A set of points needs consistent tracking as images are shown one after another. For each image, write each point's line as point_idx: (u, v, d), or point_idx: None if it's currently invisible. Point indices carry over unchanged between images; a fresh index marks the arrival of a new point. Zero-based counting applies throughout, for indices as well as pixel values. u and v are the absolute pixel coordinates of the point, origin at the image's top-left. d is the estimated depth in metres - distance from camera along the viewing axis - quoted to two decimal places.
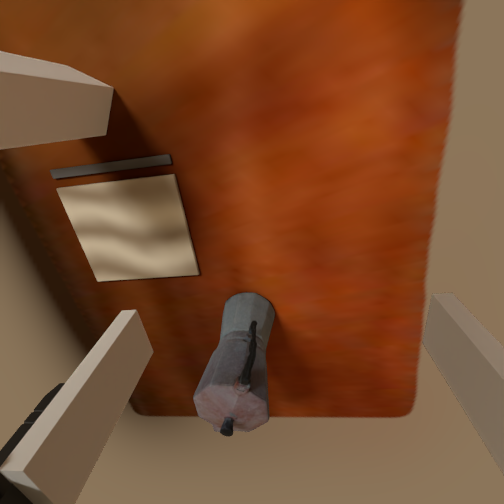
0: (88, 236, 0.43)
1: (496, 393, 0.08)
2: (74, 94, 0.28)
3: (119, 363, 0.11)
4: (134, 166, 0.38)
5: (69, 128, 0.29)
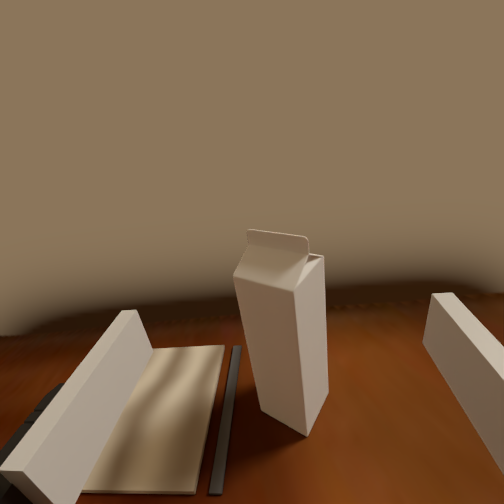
0: (171, 357, 0.41)
1: (496, 393, 0.08)
2: (292, 388, 0.26)
3: (119, 363, 0.11)
4: (220, 433, 0.30)
5: (261, 372, 0.28)
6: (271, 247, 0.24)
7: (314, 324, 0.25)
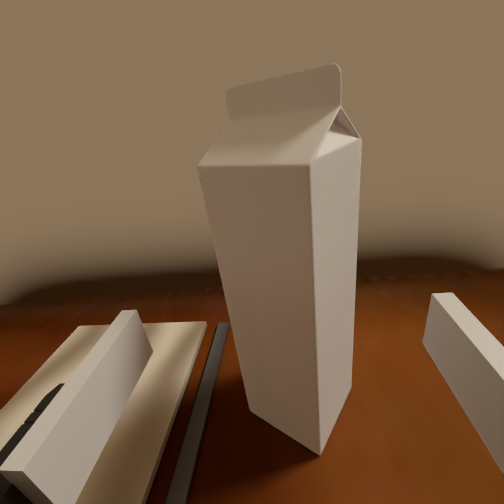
0: None
1: (496, 393, 0.08)
2: (299, 375, 0.16)
3: (119, 363, 0.11)
4: (185, 444, 0.20)
5: (249, 349, 0.18)
6: (268, 113, 0.13)
7: (340, 264, 0.15)
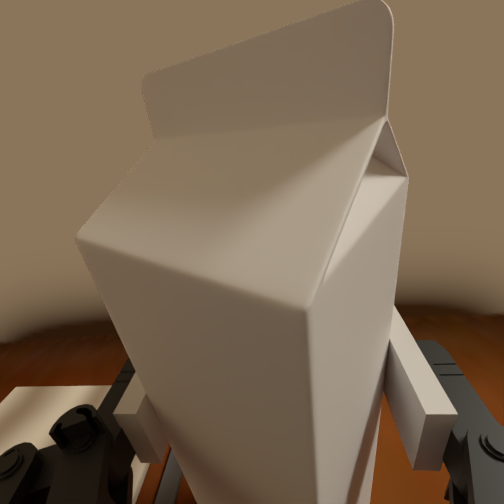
0: None
1: (389, 354, 0.10)
2: None
3: None
4: None
5: None
6: (218, 128, 0.06)
7: (365, 408, 0.08)
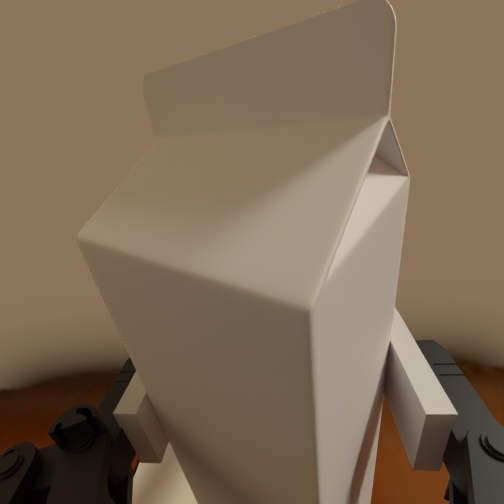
0: None
1: (389, 354, 0.10)
2: None
3: None
4: None
5: None
6: (220, 128, 0.06)
7: (367, 408, 0.08)
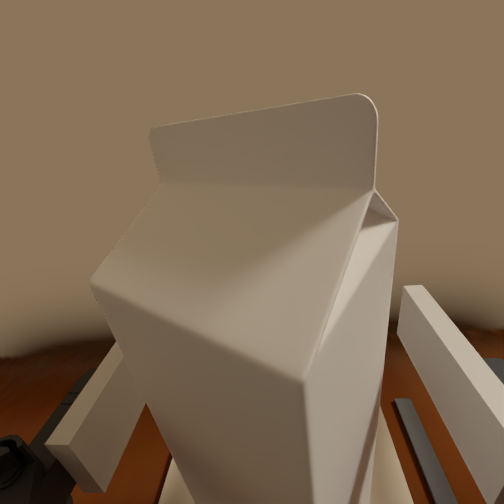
0: None
1: (452, 374, 0.09)
2: None
3: None
4: None
5: None
6: (222, 181, 0.07)
7: (361, 432, 0.08)
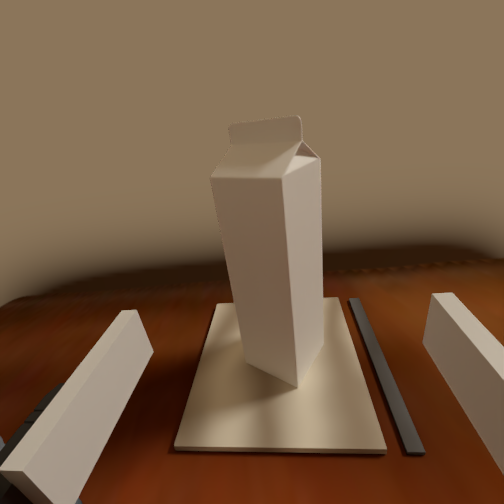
0: None
1: (496, 393, 0.08)
2: (280, 323, 0.22)
3: (119, 363, 0.11)
4: (385, 385, 0.24)
5: (245, 308, 0.24)
6: (257, 142, 0.20)
7: (308, 243, 0.21)
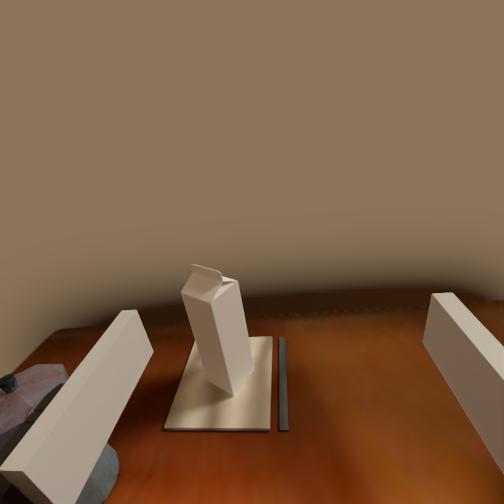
0: None
1: (496, 393, 0.08)
2: (220, 362, 0.42)
3: (119, 363, 0.11)
4: (281, 395, 0.44)
5: (203, 353, 0.44)
6: (204, 275, 0.39)
7: (232, 322, 0.41)
